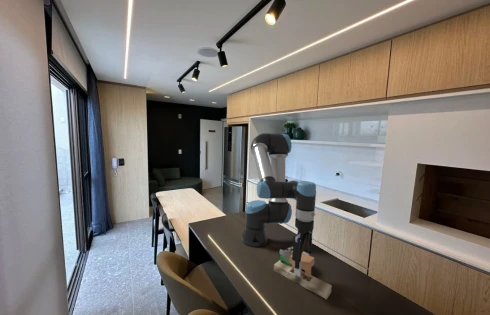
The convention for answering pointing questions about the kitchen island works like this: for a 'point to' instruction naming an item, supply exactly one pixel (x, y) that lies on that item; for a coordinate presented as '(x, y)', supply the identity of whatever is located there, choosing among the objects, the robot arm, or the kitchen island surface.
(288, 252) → the grey green half-round piece
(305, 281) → the rail
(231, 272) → the kitchen island surface
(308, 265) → the tan toy stool
